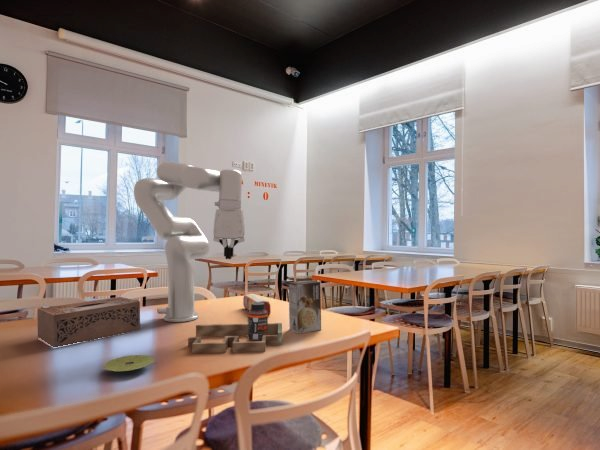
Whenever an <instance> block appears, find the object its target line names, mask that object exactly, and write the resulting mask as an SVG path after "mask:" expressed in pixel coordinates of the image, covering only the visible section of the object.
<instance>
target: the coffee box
mask: <svg viewBox="0 0 600 450" xmlns="http://www.w3.org/2000/svg"><path fill="white" fill-rule="evenodd" d="M321 301H322V300H321V281H318V280H317V281H316V280H312V279H311V280H310V279H309V280H299V281H289V282H288V311H289V313H288V317H289V318H288V319H289V320H288V321H289V330H290V331H292V332H293V333H296V334H303V333H308V332H310V333H311V332H315V331H321V330H322V304H321V303H322V302H321Z"/></svg>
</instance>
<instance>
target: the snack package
mask: <svg viewBox="0 0 600 450" xmlns="http://www.w3.org/2000/svg"><path fill="white" fill-rule="evenodd" d="M242 299H243V300H242V301H243V302H242V304H243V307H244V308H245V309H246V310H248V312H249V311H250V310H251V304H252V303H255V302H262V303H264V306H265V307H264V308H265V310H266V311H267V313H268V317H270V315H271V313H272V309H271V303H270V301H268V300H266V299H264V298H262V297H260V296H258V295H256V294H254V293H248V294H245V295H243V298H242Z"/></svg>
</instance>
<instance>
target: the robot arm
mask: <svg viewBox="0 0 600 450" xmlns="http://www.w3.org/2000/svg"><path fill="white" fill-rule="evenodd" d="M156 175H157V177H158V178H153V177H145V178H140V179H138V180H137V181H136V182H135V184H134V188H133V197H134V200H135V203H136V205H137V207H138V208H139V209H140V210H141V211H142V213H143V215H145V216H146V218H147V220H148V221H149V222H150V224H151V226H152V227H153V229H154V230H155V232H156V233H157V235H158V236H159V237H160V239H162V240H165V241H166V242H165V245H164V253H165V257H166V265H167V289H168V290H167V294H168V295H167V296H168V297H167V299H168V300H167V304H168V306H167V307H158V308H156V309H157V310H156V311H157V314H159V315H162V314H163V315H164V316H163V320H164V321H165V322H171V323H183V322H191V321H194V320H196V319H198V318H199V313H198V312H195V269H194V267H193V266H192V263H191V261H190V260H198V259H199V260H200V259H203V258H205V257H207V255H209V253H210V243H209V241H208V238H207V237H206V236H205V234H204V233H203V231H202V229H201V228H200V227H199V226H198V224H197V223H196V222H195V220H193V219H192V218H190V217H189V216H178V215H174V214H173V213H172V212H171V211H170V209H169V208H168V207H167V206H166V205H165V204H164V203H163V202H161V201H173V200H175V199H177V198H178V197H179V196H180V195H181V194H182V193H183V192H184V191H185V190H186V189H187V188H189V189H193V190H199V191H209V192H215V193H219V194H218V201H215V202H214V206H215V207H218V208H217V209H216V210H215V214H214V221H213V222H214V223H213V231H212V232H213V241H214V242H215V243H216V242H217V243H220V245H221V246H223V256H224V257H225V260H232V257H234V248H235V246H237V245H238V244H239V243H244V242H245V216H244V211H243V210H244V209H243V210H242V186H243V185H242V180H243V178H242V177H243V176H242V172H241V171H240V170H238V169H230V168H228V169H226V168H225V169H222V170H217V169H210V168H203V167H197V166H194V165H192V164H188V163H180V162H175V161H163V162H161V163H160V164H159V165H158V166H157V168H156ZM228 239H230V244H229V245H228V243H229V242H228Z"/></svg>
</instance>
